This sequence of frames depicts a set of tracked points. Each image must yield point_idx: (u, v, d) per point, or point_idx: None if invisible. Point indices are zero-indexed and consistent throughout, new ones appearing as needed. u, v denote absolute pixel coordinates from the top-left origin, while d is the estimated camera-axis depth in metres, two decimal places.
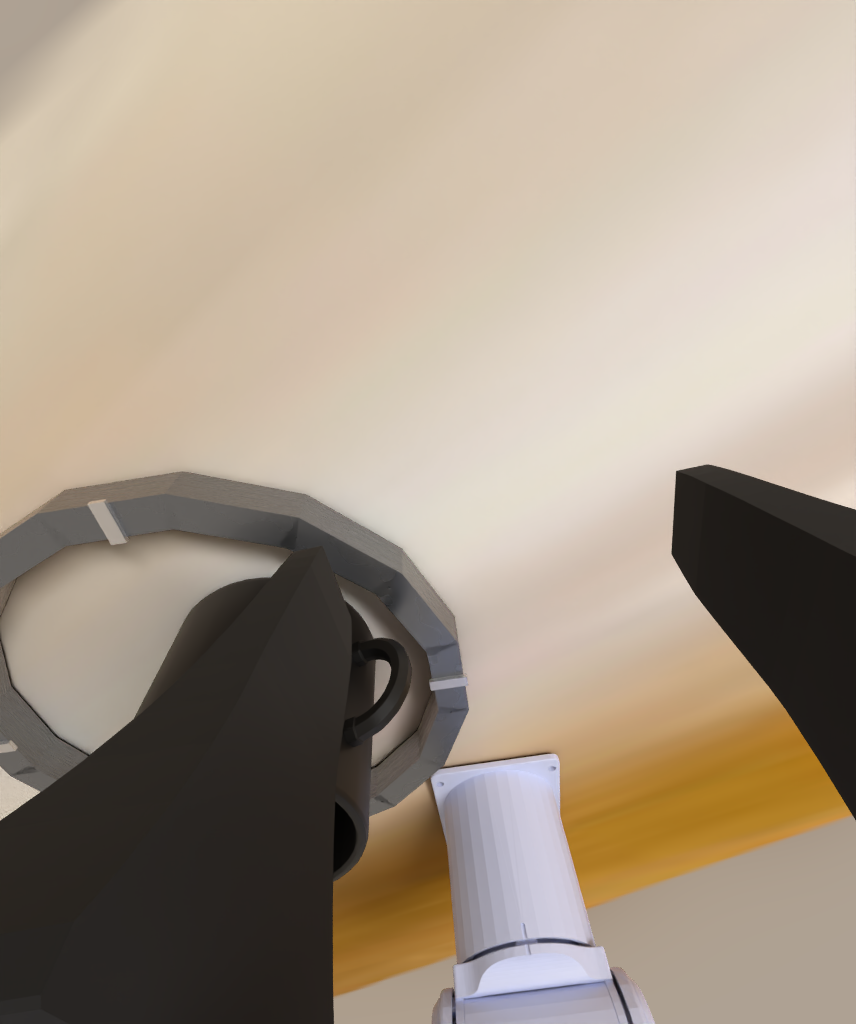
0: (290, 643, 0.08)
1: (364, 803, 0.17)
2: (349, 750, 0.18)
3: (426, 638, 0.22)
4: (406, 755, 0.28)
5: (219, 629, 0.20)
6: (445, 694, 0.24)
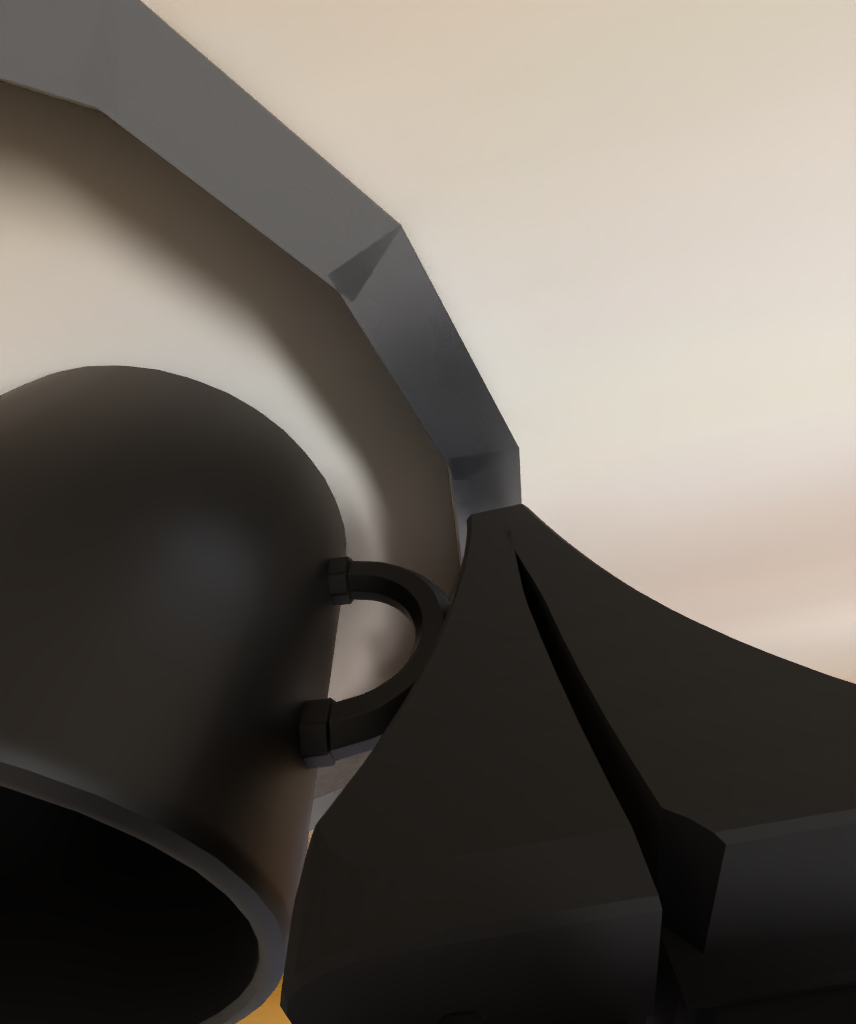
0: None
1: None
2: (301, 776, 0.07)
3: None
4: (327, 770, 0.17)
5: (72, 413, 0.08)
6: None
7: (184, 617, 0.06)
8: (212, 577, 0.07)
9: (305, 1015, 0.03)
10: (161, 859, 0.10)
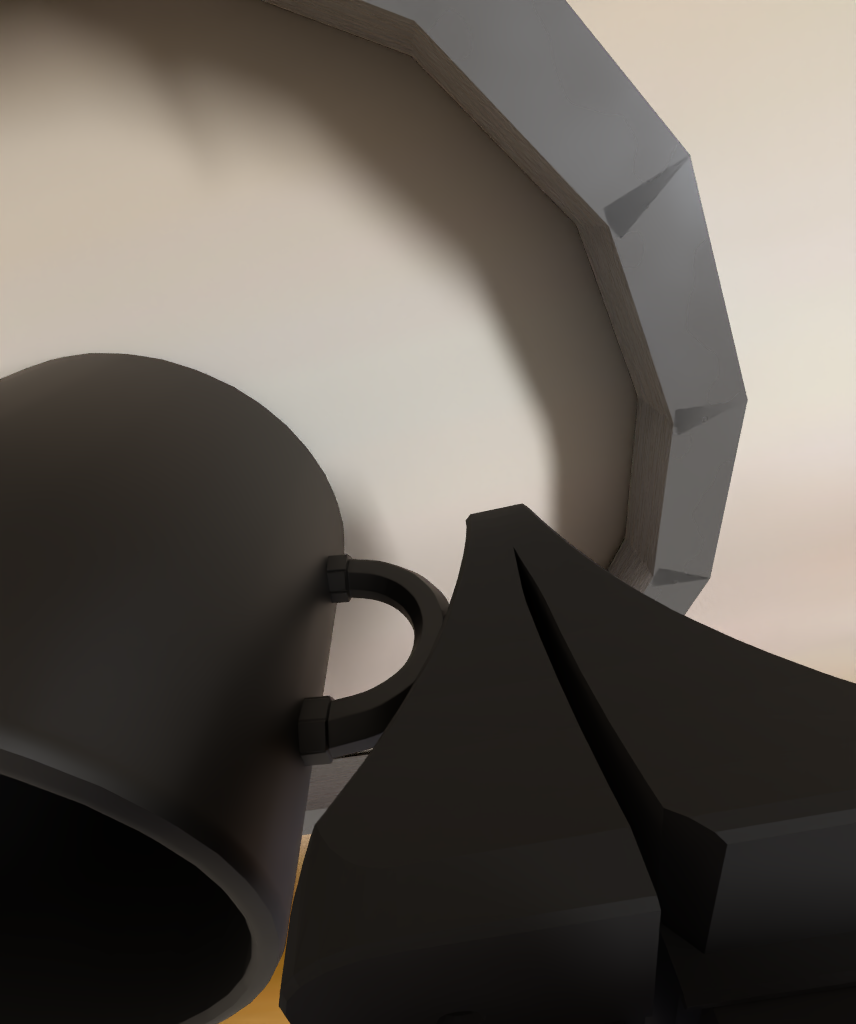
0: None
1: None
2: (299, 774, 0.07)
3: (674, 549, 0.12)
4: None
5: (76, 400, 0.08)
6: None
7: (188, 610, 0.06)
8: (216, 571, 0.07)
9: (303, 1015, 0.03)
10: (148, 854, 0.10)
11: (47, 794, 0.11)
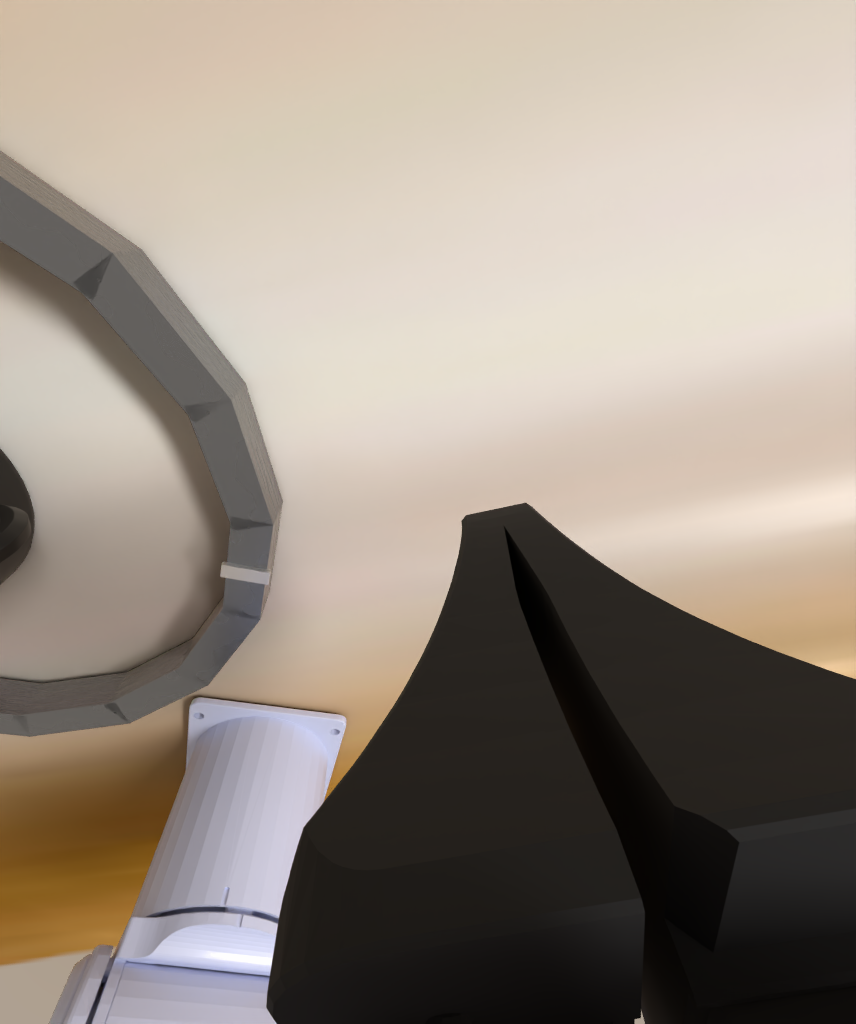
0: None
1: None
2: None
3: (235, 503, 0.18)
4: (166, 662, 0.23)
5: None
6: (237, 589, 0.20)
7: None
8: None
9: (291, 1017, 0.03)
10: None
11: None
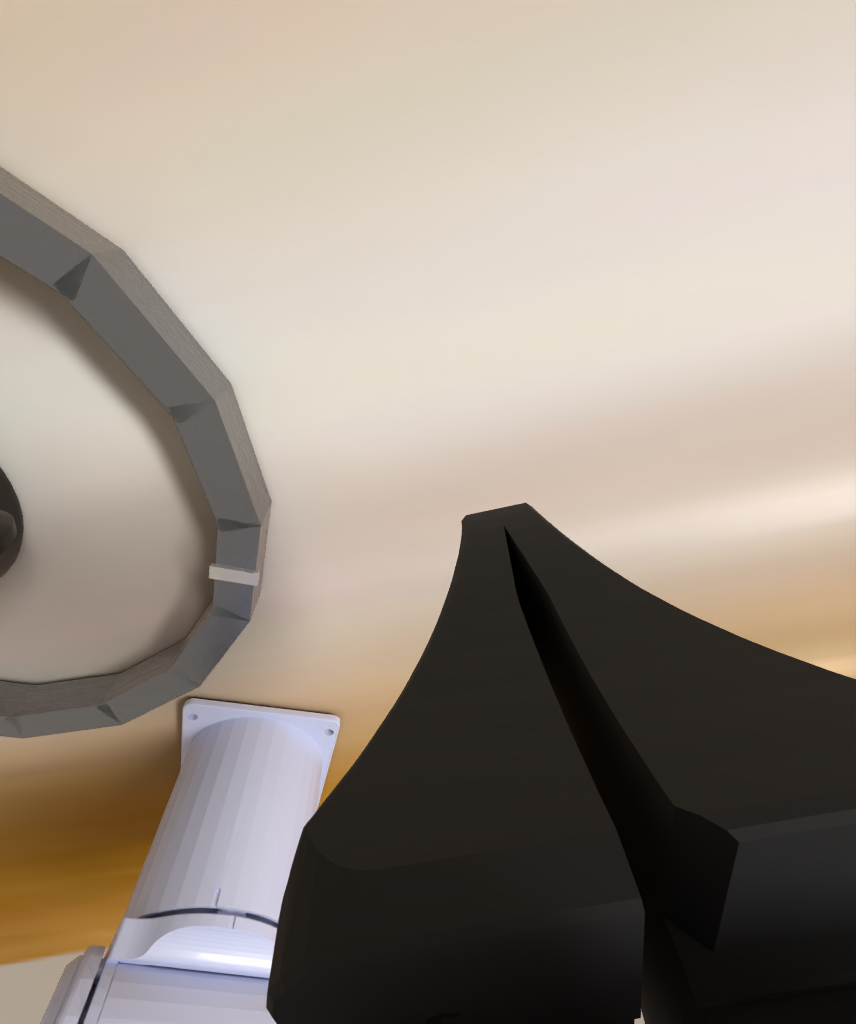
0: None
1: None
2: None
3: (222, 504, 0.18)
4: (158, 664, 0.23)
5: None
6: (226, 590, 0.20)
7: None
8: None
9: (291, 1017, 0.03)
10: None
11: None
